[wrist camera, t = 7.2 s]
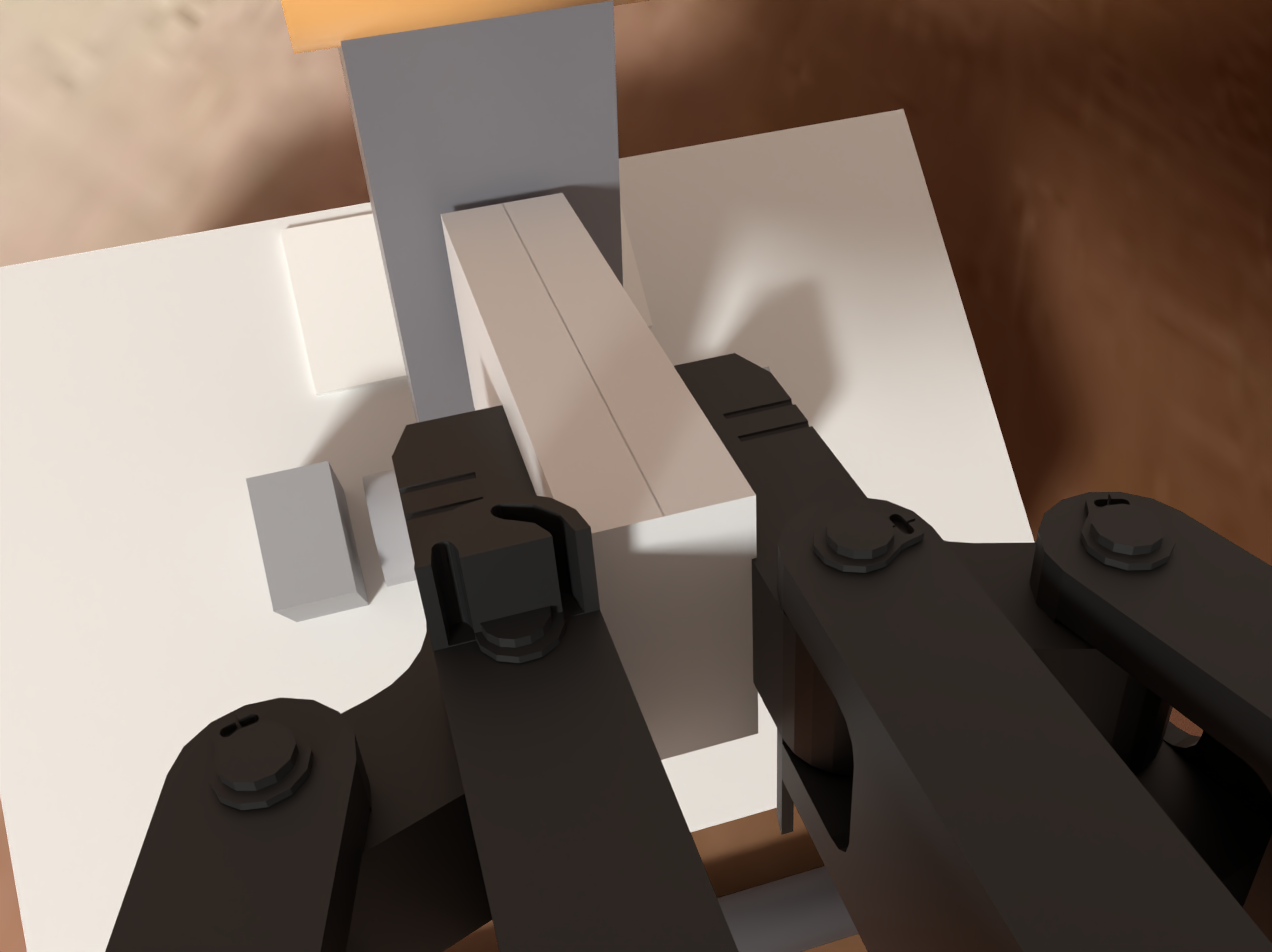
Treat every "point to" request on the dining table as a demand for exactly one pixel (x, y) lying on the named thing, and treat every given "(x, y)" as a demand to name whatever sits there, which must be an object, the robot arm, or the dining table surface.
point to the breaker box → (364, 444)
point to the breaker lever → (465, 159)
